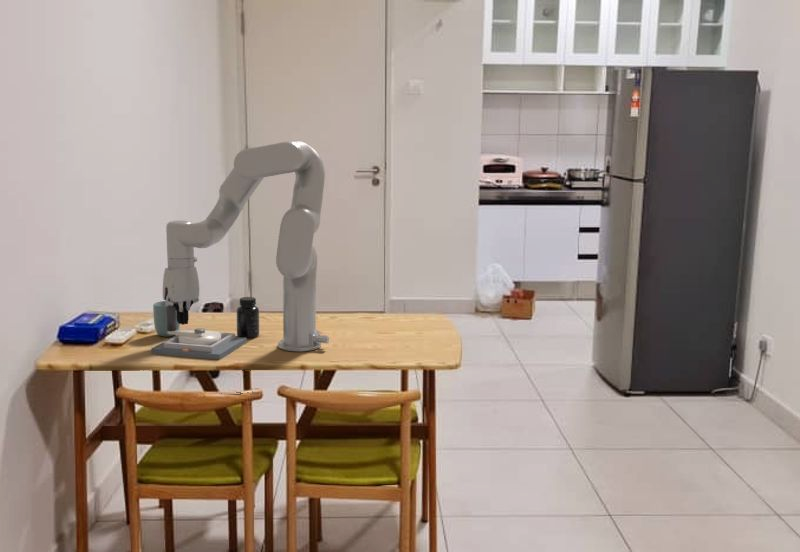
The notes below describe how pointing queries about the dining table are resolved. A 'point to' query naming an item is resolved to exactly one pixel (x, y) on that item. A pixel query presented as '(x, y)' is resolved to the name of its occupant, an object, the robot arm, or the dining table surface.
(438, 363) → the dining table surface
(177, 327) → the cup
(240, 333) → the supplement bottle
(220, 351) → the board
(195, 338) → the dial
